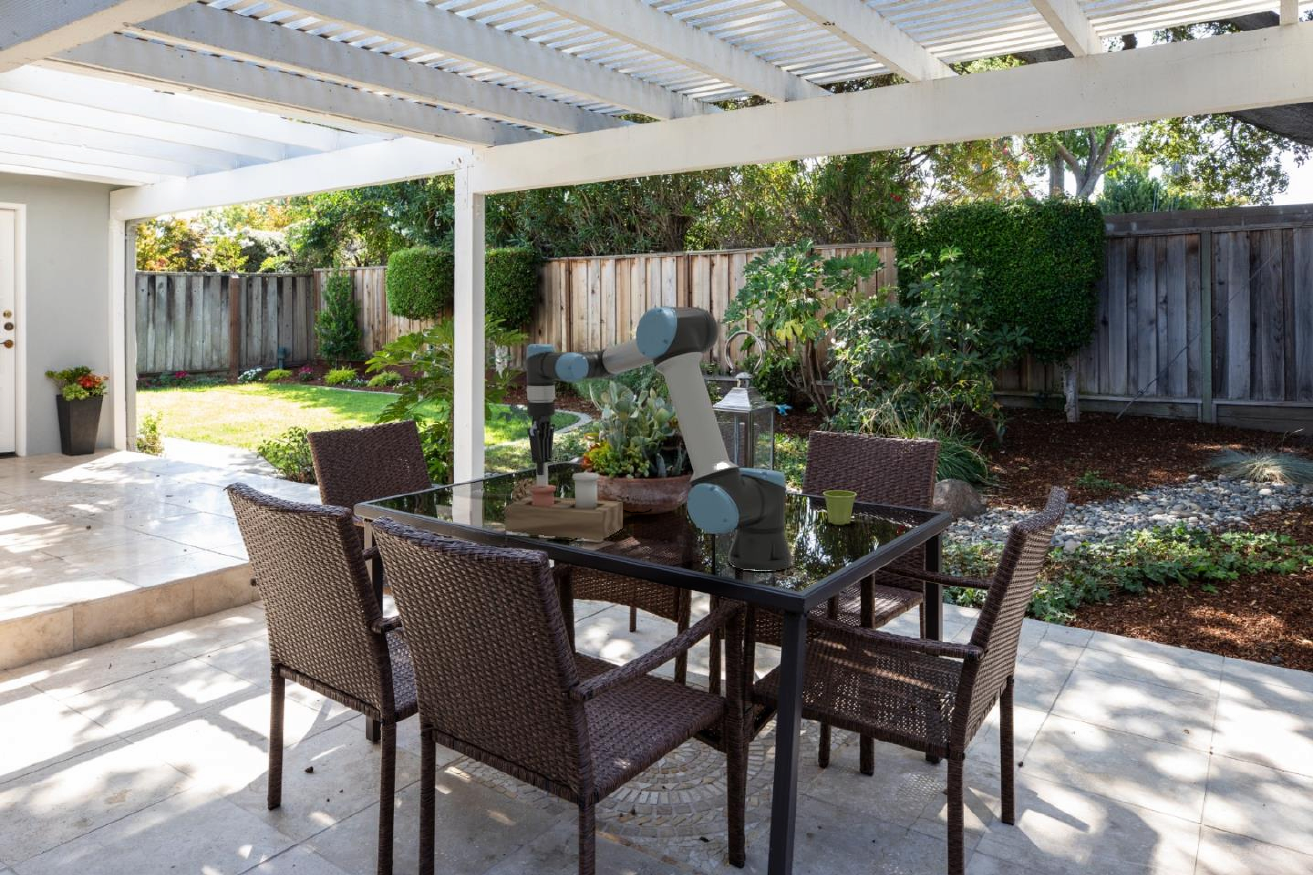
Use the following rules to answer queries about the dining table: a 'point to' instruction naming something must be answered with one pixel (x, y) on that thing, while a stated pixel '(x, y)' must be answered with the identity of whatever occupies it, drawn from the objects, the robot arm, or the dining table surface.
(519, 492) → the pine cone
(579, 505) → the grey plug
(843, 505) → the plant pot
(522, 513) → the brown wooden plug box
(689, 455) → the robot arm
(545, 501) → the red plug
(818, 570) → the dining table surface
